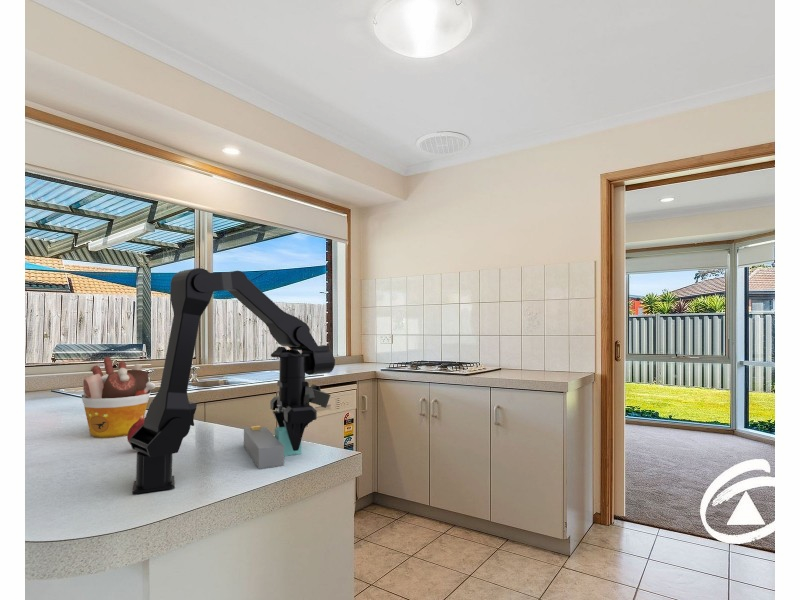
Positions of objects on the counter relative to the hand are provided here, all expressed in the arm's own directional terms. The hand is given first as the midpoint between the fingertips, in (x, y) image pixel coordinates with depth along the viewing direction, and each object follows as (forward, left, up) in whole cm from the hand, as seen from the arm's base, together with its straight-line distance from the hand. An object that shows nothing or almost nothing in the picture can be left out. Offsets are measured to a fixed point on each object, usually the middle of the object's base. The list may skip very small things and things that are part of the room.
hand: (291, 446), depth 106 cm
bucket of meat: (+41, +37, -2) cm, 55 cm away
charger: (0, +2, -1) cm, 2 cm away
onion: (+17, +30, -2) cm, 35 cm away
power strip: (+3, +6, -1) cm, 7 cm away
